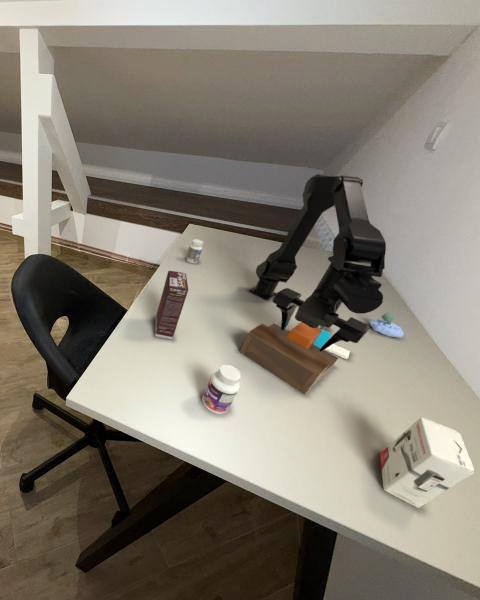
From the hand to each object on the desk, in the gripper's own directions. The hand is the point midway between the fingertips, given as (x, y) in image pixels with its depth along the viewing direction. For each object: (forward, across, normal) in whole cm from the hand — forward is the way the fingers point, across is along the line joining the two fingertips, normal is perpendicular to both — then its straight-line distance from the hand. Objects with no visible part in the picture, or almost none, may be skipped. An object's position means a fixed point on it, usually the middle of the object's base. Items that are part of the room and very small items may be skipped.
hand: (300, 339), depth 78 cm
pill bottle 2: (+5, -2, -32) cm, 32 cm away
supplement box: (+5, -25, -22) cm, 34 cm away
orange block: (+2, 0, 0) cm, 2 cm away
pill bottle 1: (+5, -48, +21) cm, 53 cm away
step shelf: (+5, 0, -5) cm, 7 cm away
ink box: (+5, +26, -18) cm, 32 cm away
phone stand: (+5, +3, +11) cm, 12 cm away
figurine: (+5, +11, +36) cm, 38 cm away
